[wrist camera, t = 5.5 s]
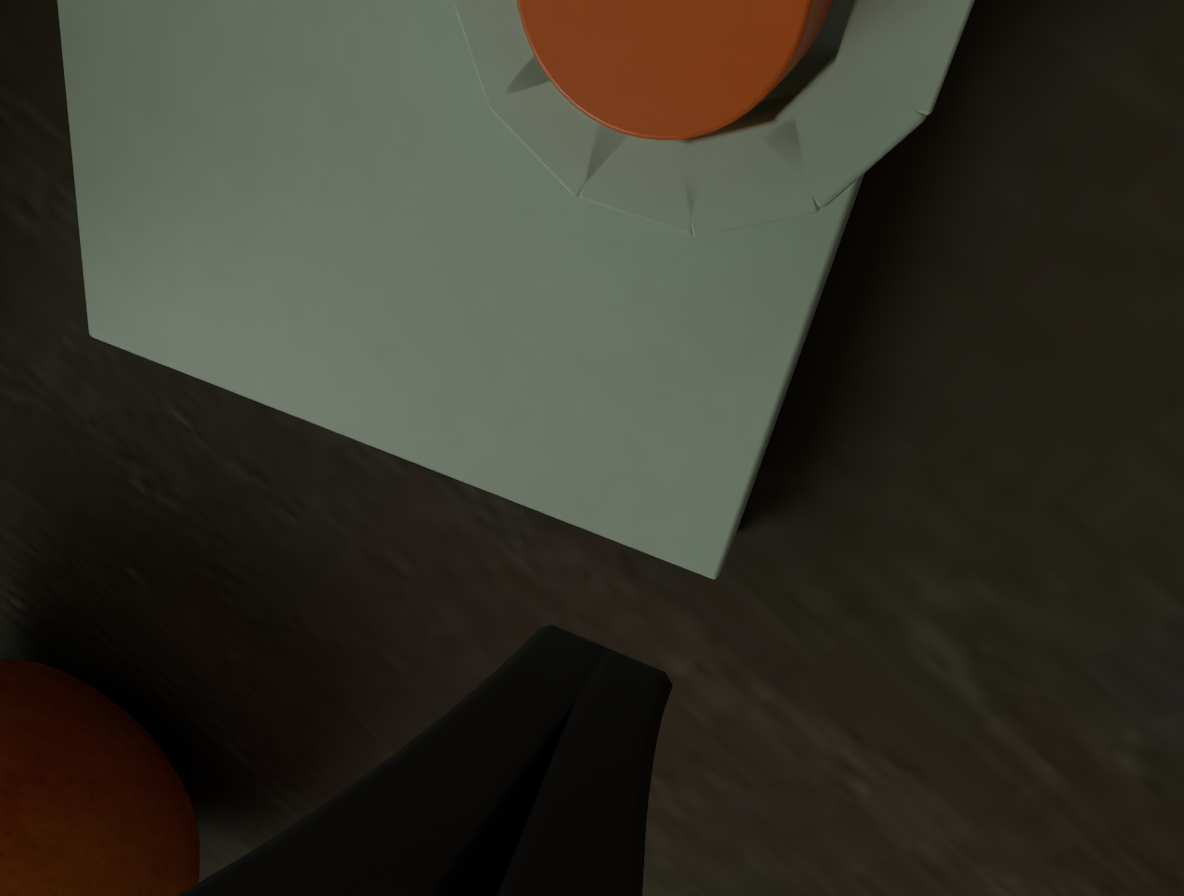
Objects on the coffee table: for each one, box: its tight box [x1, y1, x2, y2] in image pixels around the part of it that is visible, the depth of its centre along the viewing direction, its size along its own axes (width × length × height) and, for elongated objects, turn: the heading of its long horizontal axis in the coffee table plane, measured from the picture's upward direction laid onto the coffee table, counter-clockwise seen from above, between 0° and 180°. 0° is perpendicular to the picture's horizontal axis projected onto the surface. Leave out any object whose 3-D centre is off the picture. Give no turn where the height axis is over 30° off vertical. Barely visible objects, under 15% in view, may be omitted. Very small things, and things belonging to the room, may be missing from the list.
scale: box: [57, 0, 975, 579], centre depth 15 cm, size 14×13×3 cm
